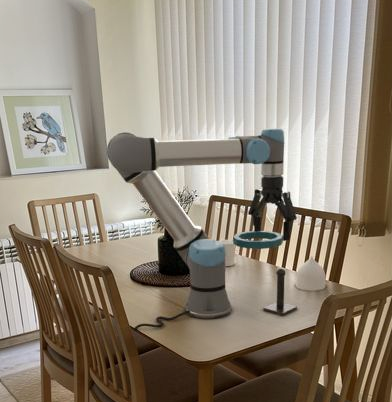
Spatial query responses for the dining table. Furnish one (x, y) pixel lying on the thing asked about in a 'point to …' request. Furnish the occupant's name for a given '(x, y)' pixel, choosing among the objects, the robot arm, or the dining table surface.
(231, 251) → the drinking glass
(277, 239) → the ring
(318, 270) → the teardrop
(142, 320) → the dining table surface
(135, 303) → the dining table surface
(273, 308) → the ring holder
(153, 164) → the robot arm
